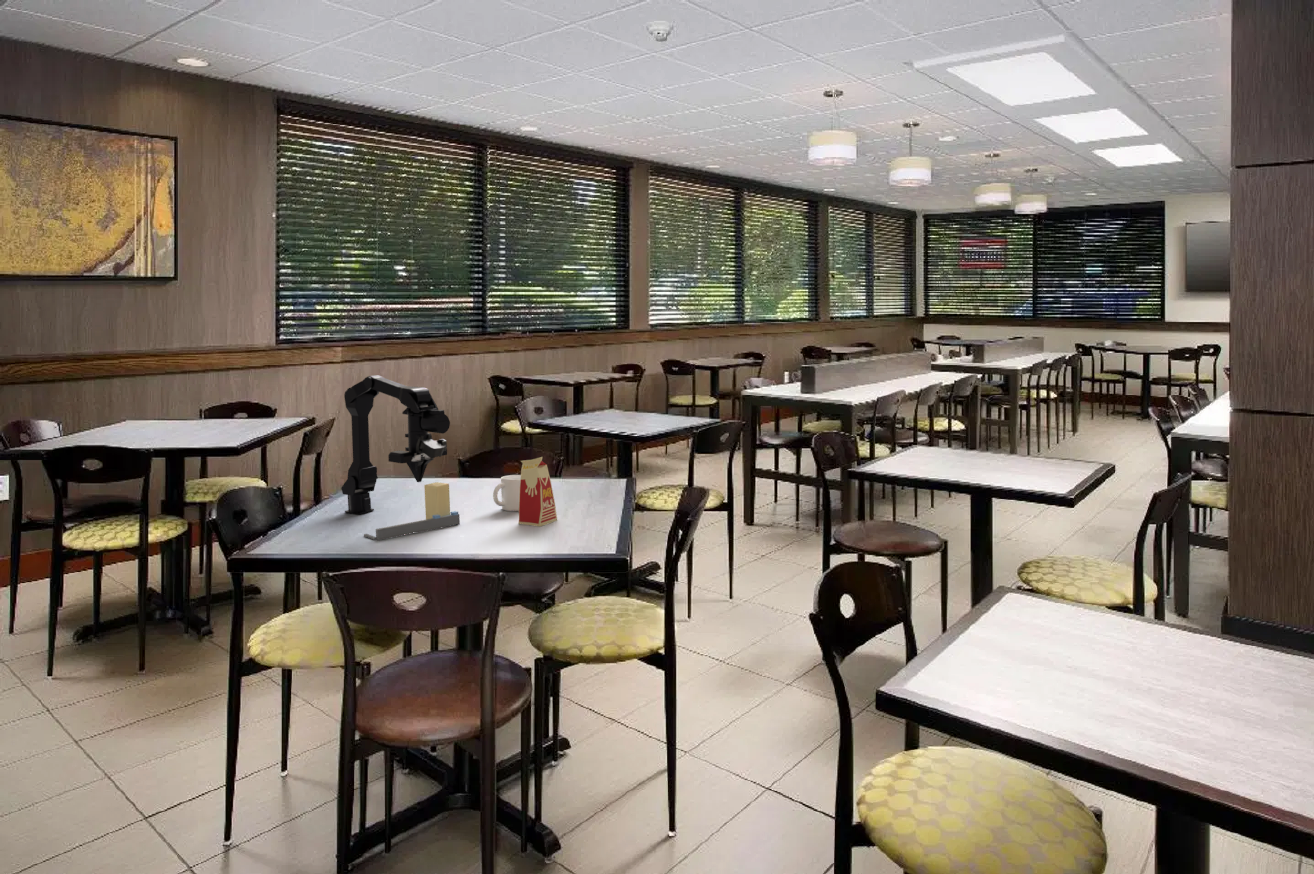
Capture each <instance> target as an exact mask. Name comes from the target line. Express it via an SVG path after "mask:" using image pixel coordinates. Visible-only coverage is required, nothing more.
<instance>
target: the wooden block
mask: <svg viewBox="0 0 1314 874" xmlns="http://www.w3.org/2000/svg"><path fill="white" fill-rule="evenodd" d="M423 487H424V503H425V504H424V506H425V509H424V510H425V520H427V519H431V518H433V515H437V514H438V515H440V517H441V516H446V515H451V507H450V506H451V501H450V499H451V498H450V483H445V482H439V481H438V482H432V483H428V484H424V486H423Z"/></svg>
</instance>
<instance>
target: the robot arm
mask: <svg viewBox="0 0 1314 874" xmlns="http://www.w3.org/2000/svg"><path fill="white" fill-rule="evenodd" d="M380 393H382V394H384V395H387V396H390V397H393V398H395V399H397V400H398V401H399V402H400V404H401V405H403V406H405V409H404V410H403V411H402V412H401V413H402V415H407V433H404V438H407V444H408V446H406V447H405V450H395V451H390V452H389V454H388V457H387V458H388V462H390V463H396V464H406V465H407V467H408V468H409V470H410V472H411V474H412V475H413V477H414V479H415V481H416V483H422V480H423V478H424V474H425V472H426V468H427V467H428V464H429V463H431V461H434V459H435V458H438V457H439V458H441V457H442V456H447V455H448V448H447V447H448V442H447V440H446V439H444V438H441V439H440V438H439V439H438V440H434V439H433V437H432V433H437V434H446V433H447V432H448V431H449V429H450V426H451V422H450V419H449V416H448V415H447V414H445V410H444V409H439V408H438V406H437V404H436V402H435V400H434V398H433V396H432V395H431V392H430V390H429V389H428V388H426V387H424V386H410V385H405V384H402V383H399V382H397V381H394V380H390V379H388V378H385V377H384V376H382V375H379V374H376V375H368V376H366V377H365V378H364V379H363V380H361V381H359V382H357V383H356V384H353V385H352V386H351V387H348V388H347V390H345V391H344V397H343V398H344V403H345V408H346V410H347V411H348V413H349V414H350V416H351V436H352V438H351V440H352V443H351V444H352V462H351V464H350V466H349V467H348V470H347V479H346V481H345V482H344V483H343V485H342V486H341V488H340V489H341V493H342V495H345V496H347V508H348V509H347V510H344V513H345V514H353V515H363V514H365V513H369V512H373V511H375V508H372V502H371V500H372V499H371V497H370V494H371V493H370V492H374V491H375V486H376V484H377V480H378V468H377V465H374V464H373V463H372V462H371V456H370V432H369V431H370V429H369V427H370V426H369V425H370V424H369V415H370V413H371V411H372V409H373V407H374V399H375V398H376V397H377V396H378V395H379V394H380Z"/></svg>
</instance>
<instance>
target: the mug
mask: <svg viewBox="0 0 1314 874" xmlns="http://www.w3.org/2000/svg"><path fill="white" fill-rule="evenodd" d="M520 479H521V474H510V475H504V476H501V477H500V483H498V484H497V485H496V486H495V487H494V490H493V494H492V497H493V502H494V503H495V504H496V505H497V506H498V507H501V508H502V510H503V511H506V512H519V494H520ZM499 491H501V493H500V494H501V501H500V500H499V499H498V494H499V493H498V492H499Z"/></svg>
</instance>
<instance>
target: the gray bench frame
mask: <svg viewBox="0 0 1314 874" xmlns="http://www.w3.org/2000/svg"><path fill="white" fill-rule="evenodd" d="M460 519H461V518H460V514H459V511H456V510H454V511H450V515H446V516H441V517H440V515H438V514H437V515H433V518H431V519H427V520H426V519H423V520H422V519H421V520H418V521H417V520H416V521H412V522H406V523H401V524H395V525H390V526H389V525H388V526H385V527H379V528H376V529H375V536H374V535H372V534H368V533H364V534H363V537H364V538H367V537H368V539H370V538H371V540H373V541H382V539H383V540H386V538H388V539H391V537H393V538H397V537H396V536H398V537H401V535H403V536H405V535H404V534H408V535H410V534H409V533H413V532H418V533H424V532H427V530H428V531H432V530H431V529H433V530H437V529H436V528H438V529H441V527H443V528H447V527H446V526H448V527H451V526H450V525H453V526H456V525H455V524H459V525H460V523H461V520H460ZM413 534H414V533H413Z"/></svg>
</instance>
